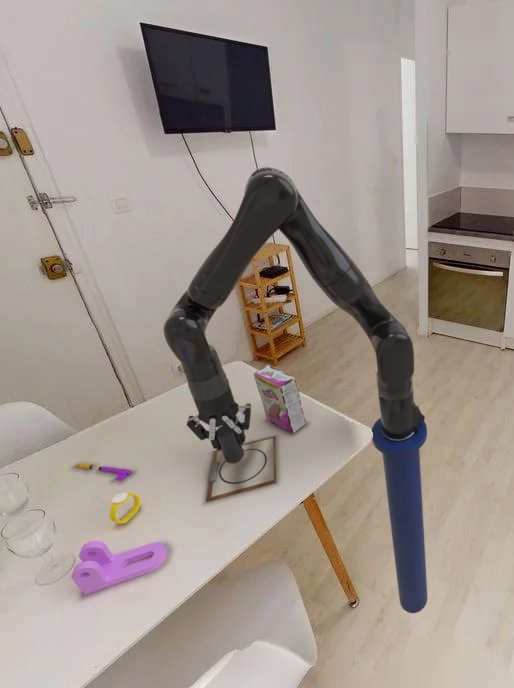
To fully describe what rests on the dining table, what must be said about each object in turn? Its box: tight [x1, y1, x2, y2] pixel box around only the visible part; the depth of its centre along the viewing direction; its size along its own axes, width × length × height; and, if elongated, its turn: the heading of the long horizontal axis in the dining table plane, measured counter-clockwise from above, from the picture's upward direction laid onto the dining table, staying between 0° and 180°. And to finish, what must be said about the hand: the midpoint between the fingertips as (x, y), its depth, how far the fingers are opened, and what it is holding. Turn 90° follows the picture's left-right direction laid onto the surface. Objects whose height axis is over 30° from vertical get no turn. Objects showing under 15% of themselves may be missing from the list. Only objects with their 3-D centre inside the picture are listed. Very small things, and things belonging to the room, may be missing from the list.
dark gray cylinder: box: [215, 425, 244, 464], centre depth 99 cm, size 4×4×10 cm
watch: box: [109, 492, 141, 525], centre depth 88 cm, size 6×3×6 cm, turn 169°
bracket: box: [70, 540, 168, 596], centre depth 78 cm, size 13×6×7 cm, turn 112°
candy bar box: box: [253, 364, 307, 434], centre depth 110 cm, size 11×5×16 cm, turn 58°
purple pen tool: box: [75, 462, 132, 482], centre depth 100 cm, size 3×1×16 cm
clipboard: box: [205, 435, 277, 503], centre depth 100 cm, size 15×16×1 cm
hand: (230, 444), depth 99 cm, fingers closed on dark gray cylinder, 4 cm apart
